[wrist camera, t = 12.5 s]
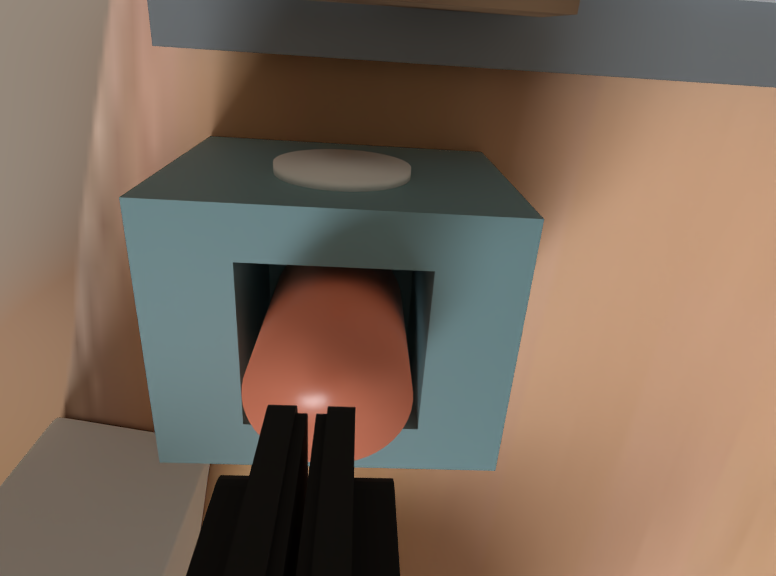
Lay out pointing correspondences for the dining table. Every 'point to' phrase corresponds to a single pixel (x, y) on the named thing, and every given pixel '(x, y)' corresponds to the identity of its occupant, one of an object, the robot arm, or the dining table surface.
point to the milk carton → (99, 505)
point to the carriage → (484, 6)
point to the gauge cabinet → (330, 249)
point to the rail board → (496, 36)
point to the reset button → (334, 352)
